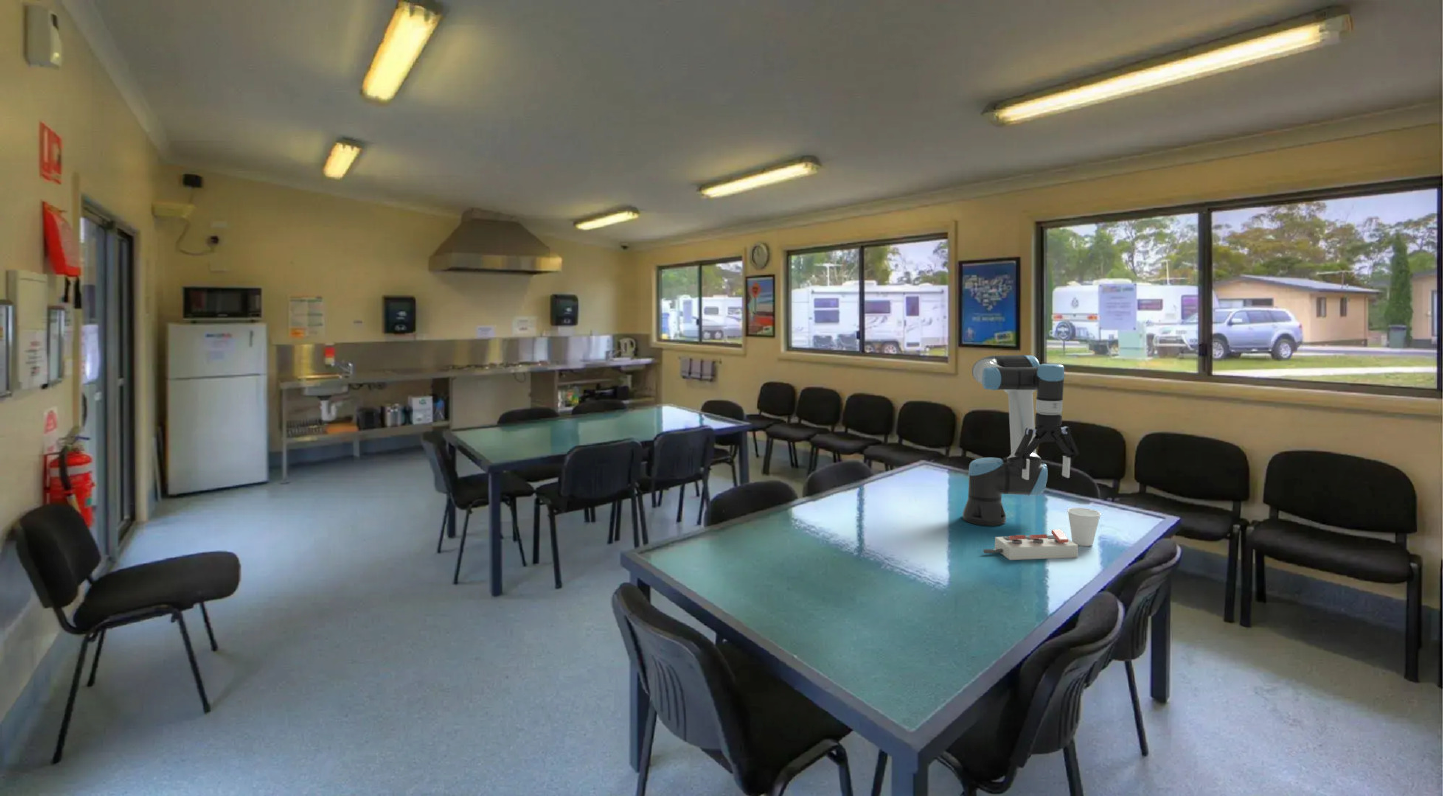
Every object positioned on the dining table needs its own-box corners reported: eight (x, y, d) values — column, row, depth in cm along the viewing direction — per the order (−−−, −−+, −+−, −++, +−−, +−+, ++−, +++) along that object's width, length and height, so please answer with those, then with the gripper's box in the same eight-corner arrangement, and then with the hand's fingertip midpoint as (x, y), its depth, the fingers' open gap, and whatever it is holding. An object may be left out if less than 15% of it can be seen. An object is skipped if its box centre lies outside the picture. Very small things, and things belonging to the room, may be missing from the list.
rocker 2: (1030, 538, 210) (1030, 534, 210) (1039, 538, 210) (1038, 534, 210) (1038, 538, 205) (1037, 534, 205) (1047, 538, 205) (1046, 534, 205)
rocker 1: (1009, 539, 209) (1008, 535, 210) (1017, 539, 209) (1017, 535, 210) (1016, 539, 204) (1016, 535, 205) (1025, 539, 204) (1024, 534, 205)
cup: (1104, 549, 211) (1105, 516, 210) (1071, 547, 213) (1072, 515, 212) (1093, 539, 221) (1094, 507, 220) (1061, 537, 223) (1063, 506, 222)
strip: (977, 549, 214) (977, 534, 213) (1059, 546, 215) (1060, 531, 214) (991, 560, 204) (991, 545, 203) (1077, 557, 205) (1078, 542, 204)
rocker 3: (1051, 532, 210) (1052, 529, 209) (1059, 532, 210) (1060, 529, 210) (1059, 542, 206) (1060, 539, 205) (1067, 542, 206) (1068, 539, 205)
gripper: (1017, 416, 200) (1014, 482, 203) (1093, 413, 202) (1089, 478, 205) (1004, 412, 207) (1002, 476, 211) (1078, 409, 209) (1075, 472, 213)
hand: (1045, 477), depth 208 cm, fingers open, 13 cm apart
